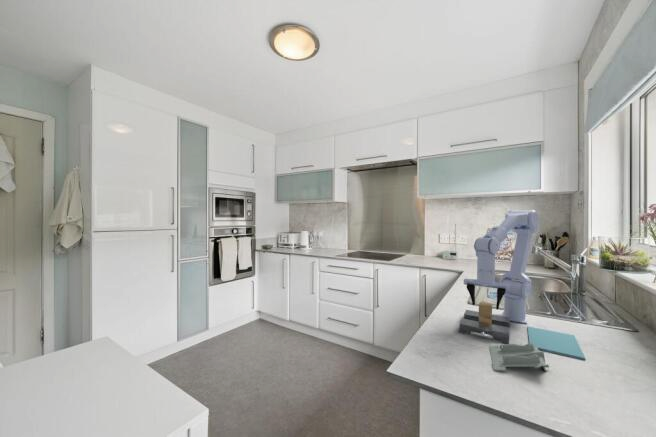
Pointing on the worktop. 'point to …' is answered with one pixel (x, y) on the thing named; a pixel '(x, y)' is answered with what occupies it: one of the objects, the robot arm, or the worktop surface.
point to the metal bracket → (516, 356)
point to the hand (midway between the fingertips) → (485, 306)
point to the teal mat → (555, 342)
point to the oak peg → (485, 312)
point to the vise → (485, 326)
